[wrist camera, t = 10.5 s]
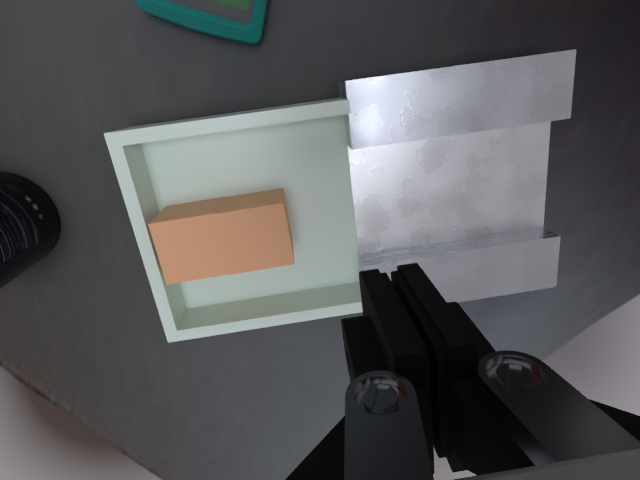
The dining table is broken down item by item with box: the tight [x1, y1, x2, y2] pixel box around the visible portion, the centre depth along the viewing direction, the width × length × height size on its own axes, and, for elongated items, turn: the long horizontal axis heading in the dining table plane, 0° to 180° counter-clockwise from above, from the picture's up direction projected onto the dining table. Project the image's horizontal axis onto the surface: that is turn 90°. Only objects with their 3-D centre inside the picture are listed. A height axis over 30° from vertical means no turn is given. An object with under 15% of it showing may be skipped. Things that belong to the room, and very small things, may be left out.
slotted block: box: [337, 49, 576, 302], centre depth 29 cm, size 14×16×4 cm
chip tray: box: [104, 98, 363, 343], centre depth 28 cm, size 14×14×5 cm
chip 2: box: [216, 188, 294, 275], centre depth 27 cm, size 4×4×4 cm
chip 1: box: [148, 197, 231, 285], centre depth 27 cm, size 4×4×4 cm
